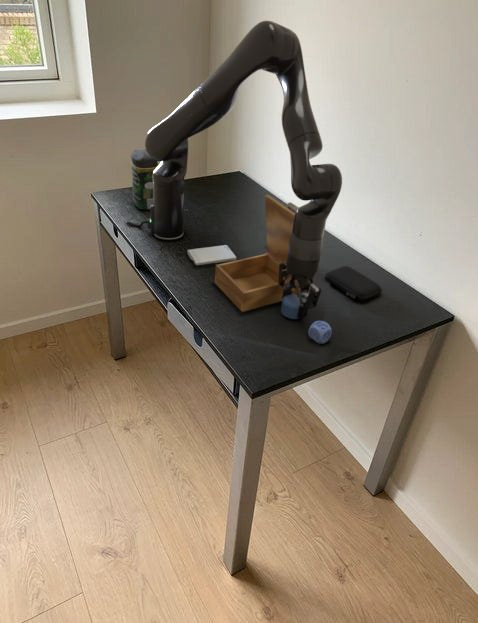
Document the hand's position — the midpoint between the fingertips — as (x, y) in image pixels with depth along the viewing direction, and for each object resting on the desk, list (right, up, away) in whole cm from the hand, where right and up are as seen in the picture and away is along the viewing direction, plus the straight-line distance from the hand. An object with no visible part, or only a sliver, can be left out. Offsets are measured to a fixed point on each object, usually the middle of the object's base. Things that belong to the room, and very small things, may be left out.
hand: (293, 310), depth 120 cm
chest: (-10, +5, +9) cm, 14 cm away
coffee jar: (-46, +36, +48) cm, 76 cm away
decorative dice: (+5, -7, -5) cm, 10 cm away
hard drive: (-22, +15, +22) cm, 34 cm away
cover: (-3, +19, +3) cm, 19 cm away
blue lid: (0, 0, 0) cm, 1 cm away
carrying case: (+18, +6, +15) cm, 24 cm away
